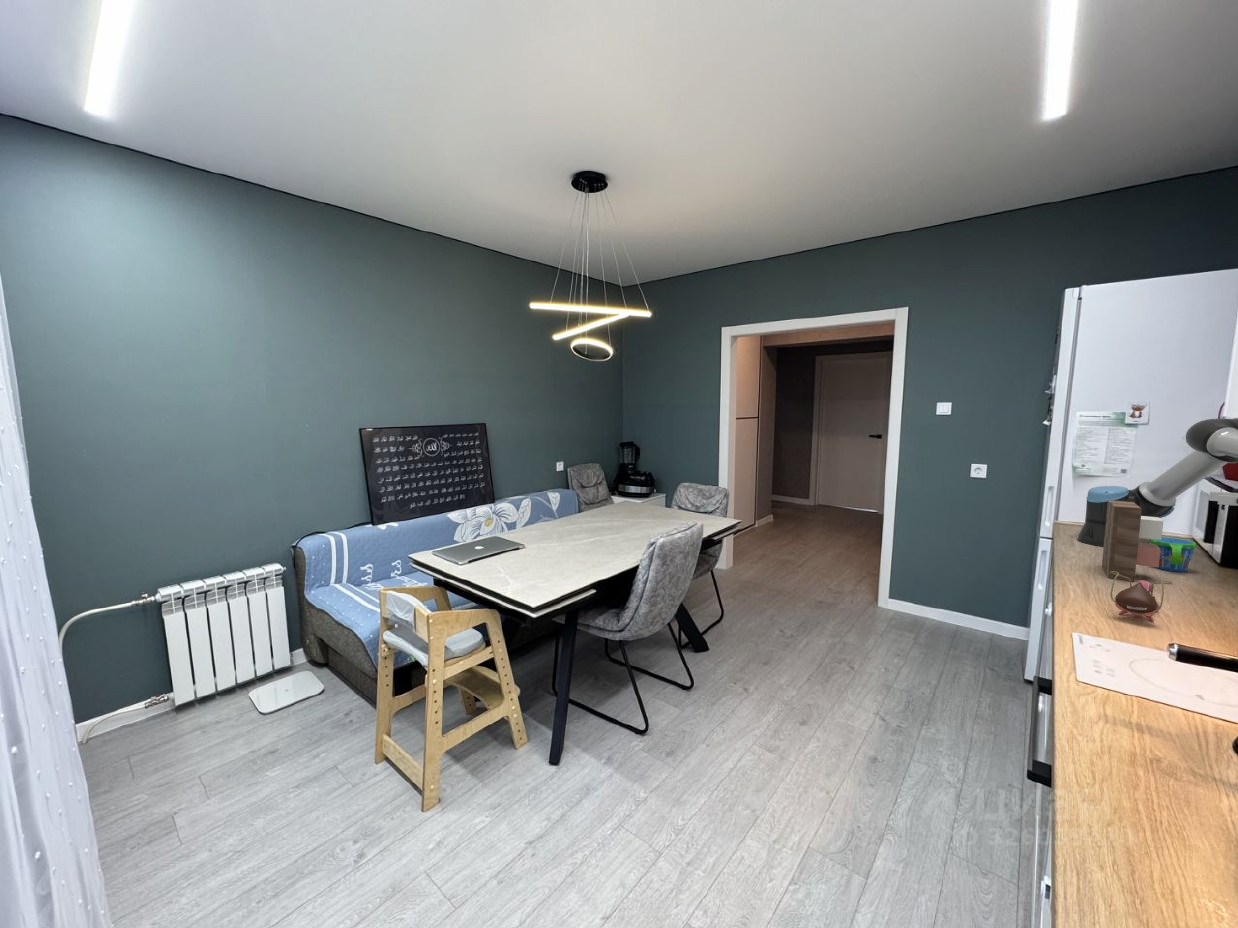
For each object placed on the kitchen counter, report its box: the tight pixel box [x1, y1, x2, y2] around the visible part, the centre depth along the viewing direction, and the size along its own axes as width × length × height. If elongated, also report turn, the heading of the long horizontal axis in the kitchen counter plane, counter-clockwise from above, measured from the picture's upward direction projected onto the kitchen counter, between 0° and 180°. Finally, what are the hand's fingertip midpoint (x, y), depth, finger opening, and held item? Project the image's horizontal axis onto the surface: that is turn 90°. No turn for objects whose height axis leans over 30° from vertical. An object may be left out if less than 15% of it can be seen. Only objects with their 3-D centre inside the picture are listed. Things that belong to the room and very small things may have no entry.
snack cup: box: [1149, 536, 1197, 573], centre depth 167 cm, size 16×10×10 cm
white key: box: [1139, 516, 1164, 540], centre depth 158 cm, size 7×5×6 cm
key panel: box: [1101, 500, 1142, 583], centre depth 162 cm, size 14×6×24 cm, turn 142°
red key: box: [1136, 542, 1160, 568], centre depth 159 cm, size 7×5×6 cm
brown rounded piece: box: [1110, 571, 1173, 624], centre depth 131 cm, size 11×15×17 cm
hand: (1214, 497), depth 148 cm, fingers open, 7 cm apart
